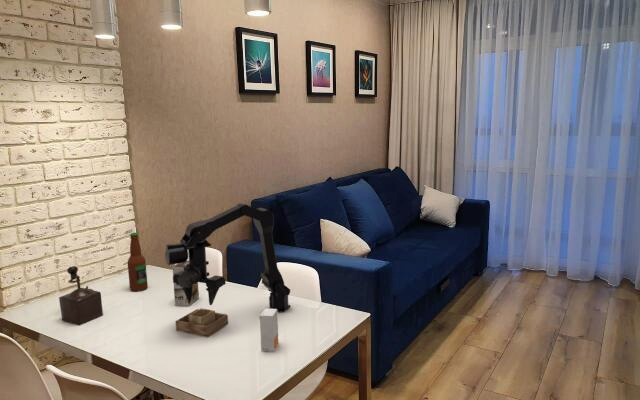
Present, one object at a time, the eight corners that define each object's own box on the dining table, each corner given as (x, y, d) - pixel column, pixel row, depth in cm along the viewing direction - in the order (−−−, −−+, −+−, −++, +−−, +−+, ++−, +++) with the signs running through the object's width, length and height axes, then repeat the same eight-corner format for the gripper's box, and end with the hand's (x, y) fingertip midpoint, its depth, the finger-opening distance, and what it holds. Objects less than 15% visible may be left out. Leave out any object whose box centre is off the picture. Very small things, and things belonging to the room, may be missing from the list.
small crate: (215, 322, 172) (214, 310, 172) (202, 330, 166) (202, 318, 165) (202, 319, 175) (201, 308, 174) (189, 327, 169) (188, 315, 168)
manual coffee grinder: (105, 314, 184) (100, 269, 181) (79, 325, 174) (74, 278, 171) (78, 307, 191) (73, 264, 188) (52, 318, 181) (46, 272, 178)
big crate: (228, 323, 173) (227, 314, 172) (207, 337, 163) (207, 327, 162) (197, 317, 179) (197, 308, 178) (176, 330, 168) (175, 321, 168)
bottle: (144, 291, 207) (139, 235, 203) (127, 292, 207) (121, 235, 203) (150, 286, 214) (145, 231, 210) (133, 286, 214) (128, 231, 210)
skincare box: (274, 352, 151) (272, 316, 149) (260, 351, 152) (259, 315, 150) (279, 343, 157) (277, 308, 155) (266, 342, 158) (264, 307, 156)
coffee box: (189, 306, 189) (186, 267, 187) (174, 305, 191) (171, 266, 188) (199, 298, 198) (197, 260, 196) (185, 297, 200) (182, 259, 197)
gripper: (160, 263, 163) (163, 307, 166) (204, 269, 155) (207, 315, 158) (182, 254, 173) (185, 296, 176) (225, 260, 165) (227, 303, 168)
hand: (200, 302), depth 169 cm, fingers open, 9 cm apart
